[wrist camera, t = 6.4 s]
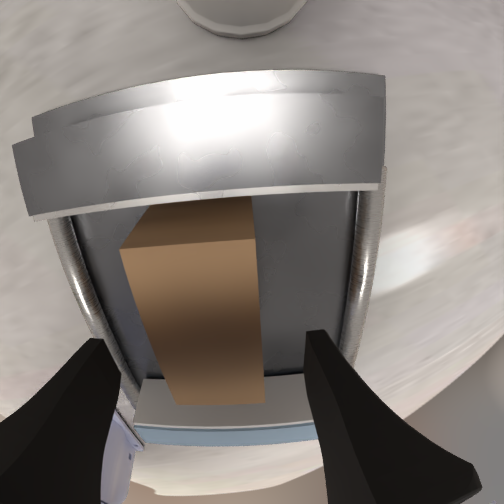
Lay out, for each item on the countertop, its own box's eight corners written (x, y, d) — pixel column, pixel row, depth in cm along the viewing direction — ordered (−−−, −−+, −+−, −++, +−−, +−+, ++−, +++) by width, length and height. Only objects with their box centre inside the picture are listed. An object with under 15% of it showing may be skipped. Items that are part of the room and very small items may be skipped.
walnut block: (259, 327, 17) (265, 402, 12) (188, 331, 17) (176, 404, 12) (250, 185, 13) (254, 238, 8) (158, 194, 13) (119, 249, 8)
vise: (343, 380, 21) (358, 433, 17) (134, 390, 21) (121, 441, 17) (377, 76, 11) (437, 75, 7) (40, 115, 11) (-24, 134, 7)
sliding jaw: (320, 389, 20) (330, 437, 16) (154, 396, 20) (145, 442, 16) (324, 368, 19) (336, 419, 15) (143, 376, 19) (132, 425, 15)
